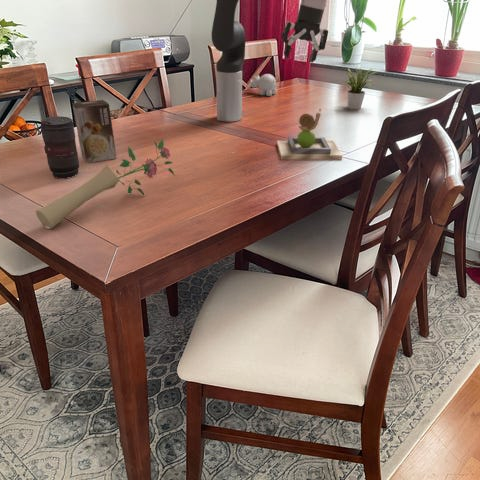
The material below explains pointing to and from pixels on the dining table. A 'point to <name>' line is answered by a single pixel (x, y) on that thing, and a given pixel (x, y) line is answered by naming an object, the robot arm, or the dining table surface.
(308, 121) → the snail figurine
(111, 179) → the flower vase
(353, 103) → the house plant
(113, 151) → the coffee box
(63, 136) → the camera lens
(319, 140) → the board
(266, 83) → the round bodied animal figurine
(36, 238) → the dining table surface
